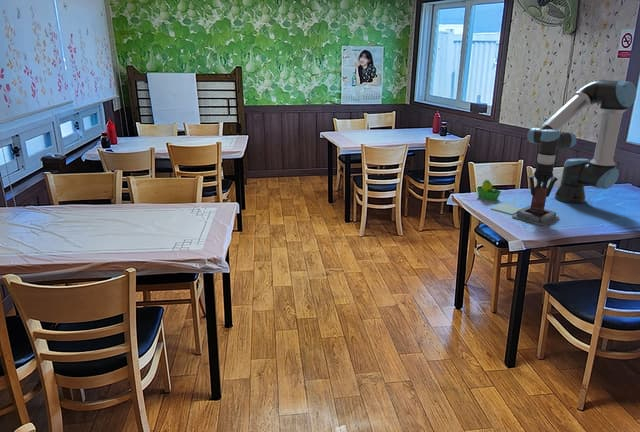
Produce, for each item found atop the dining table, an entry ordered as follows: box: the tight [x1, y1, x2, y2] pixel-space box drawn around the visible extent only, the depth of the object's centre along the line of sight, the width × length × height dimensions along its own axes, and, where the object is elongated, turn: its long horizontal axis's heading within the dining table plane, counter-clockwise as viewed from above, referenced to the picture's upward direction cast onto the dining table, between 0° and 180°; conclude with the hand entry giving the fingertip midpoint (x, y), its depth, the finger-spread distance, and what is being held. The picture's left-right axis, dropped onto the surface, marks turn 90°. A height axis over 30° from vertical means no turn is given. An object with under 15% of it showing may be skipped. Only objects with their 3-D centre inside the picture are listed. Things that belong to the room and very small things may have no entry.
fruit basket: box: [476, 179, 502, 202], centre depth 254 cm, size 11×9×11 cm
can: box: [530, 185, 548, 216], centre depth 222 cm, size 6×6×14 cm
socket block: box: [511, 205, 560, 227], centre depth 224 cm, size 16×16×4 cm
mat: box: [490, 203, 522, 216], centre depth 237 cm, size 12×12×1 cm
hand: (537, 209), depth 223 cm, fingers closed
